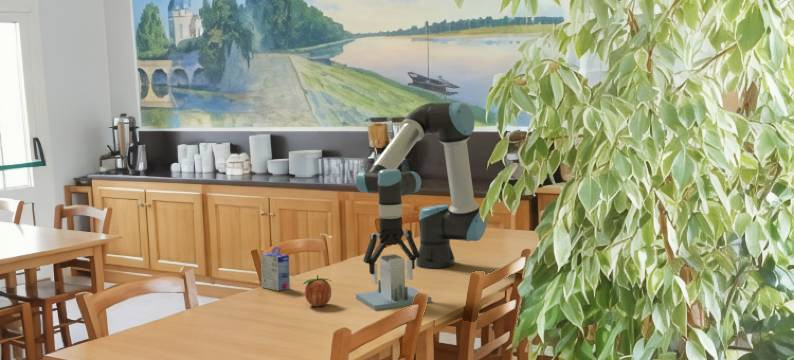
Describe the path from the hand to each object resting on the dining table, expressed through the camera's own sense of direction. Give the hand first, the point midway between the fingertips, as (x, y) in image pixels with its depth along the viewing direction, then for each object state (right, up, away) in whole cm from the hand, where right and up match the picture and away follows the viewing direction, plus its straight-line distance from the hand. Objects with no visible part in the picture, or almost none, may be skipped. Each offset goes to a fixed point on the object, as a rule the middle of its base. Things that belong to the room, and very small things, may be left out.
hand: (392, 281), depth 278 cm
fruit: (-24, -8, -3) cm, 26 cm away
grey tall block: (0, -5, +1) cm, 5 cm away
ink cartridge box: (-42, -5, +22) cm, 47 cm away
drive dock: (0, -6, +1) cm, 6 cm away
